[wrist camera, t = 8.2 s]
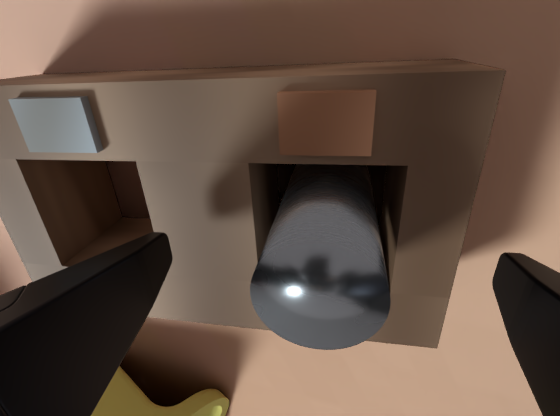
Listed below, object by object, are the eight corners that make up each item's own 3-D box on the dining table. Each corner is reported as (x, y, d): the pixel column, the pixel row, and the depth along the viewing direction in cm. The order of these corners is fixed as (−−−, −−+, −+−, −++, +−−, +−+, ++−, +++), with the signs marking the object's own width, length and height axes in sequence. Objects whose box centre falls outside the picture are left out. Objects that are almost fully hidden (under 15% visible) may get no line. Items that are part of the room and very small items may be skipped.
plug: (373, 145, 13) (398, 246, 7) (367, 218, 14) (383, 356, 8) (291, 144, 13) (243, 237, 7) (293, 214, 15) (255, 341, 9)
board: (454, 59, 11) (511, 71, 7) (416, 275, 15) (439, 355, 11) (40, 74, 14) (-75, 88, 10) (103, 252, 18) (38, 311, 14)
